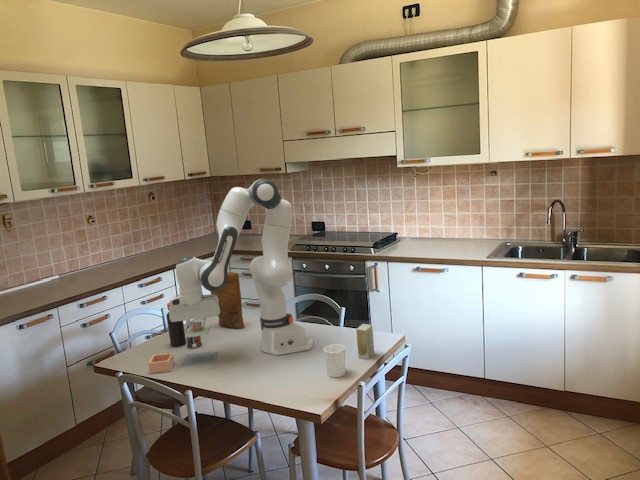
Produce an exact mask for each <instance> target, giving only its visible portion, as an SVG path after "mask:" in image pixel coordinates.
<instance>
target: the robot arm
mask: <svg viewBox="0 0 640 480" xmlns="http://www.w3.org/2000/svg"><path fill="white" fill-rule="evenodd" d="M254 206H260V207H263V208H264V209H265V221H264V224H263V225H264V226H263V229H262V236H261V245H262V246H261V247H262V254H263V255H259V256H256V257H254V258H253V259H252V260H251V262H249V263H250V264H249V271H250V274H251V277H252V279H253V283H254V286H255V291H256V294H257V296H258V298H257V299H258V301H259V311H260V317H259V321H260V328H261V345H260V350H261V351H262V352H264V353H267V354H271V355H272V356H282V355H286V354H292V353H298V352H304V351H305V352H306V351H308V350H311V349H312V348H313V347H314V340H313V338H312V337H311V336H309V335H308V334H307V331H306V329H305V328H304V327H303V326H302V325H300V324H298V323H297V322H295V321H294V318H293V315H292V313H291V312H290V313H288V312H287V311H288V310H287V302H286V295H285V293H284V291H283V288H284V287H285V286H286V285H287V284H288V283H290V280H291V270H290V266H289V257H288V251H289V240H290V234H291V229H292V221H293V205H292V204H291V202H289V200H286V199H283V198H282V197H281V195H280V192H279V189H278V186H277V185H276V183H275V182H274V181H273V180H271V179H268V178H259V179H257V180H255V181H254V182H253V183H252V184H251V185H250V186H248V187H247V188H244V187H240V186H235V187H232V188H231V189H230V190H229V191H228V193H227V194H226V196H225V198H224V200H223V202H222V204H221V206H220V209H219V212H218V214H217V218H216V223H215V224H216V229H217V233H218V244H217V247H216V249H215V251H214V255H213V258H212V260H205V259H200V258H197V257H195V256H192V255H190V256H185V257H183V258H180V260H178V261H177V262H176V265H175V274H176V280H177V283H178V285H179V291H178V292H179V293H177V294H175V295H173V296H172V297H171V298H170V299H169V301H168V303H169V304H170V305H171V306H170V308H169V310H168V312H169V318H170V321H172V322H177V321H183V322H185V323H186V324H187V325H188V326H189V327H190V330H193V326H192V325H193V324H191V323H190V322H191V320H198V319H201V324H200V326H201V328H205V325H206V324H205V323H206V320H207V318H213V317H214V318H215V317H218V315H219V314H220V308H219V304H218V302H219V300H218V296H217V295H214V294H211V293H210V294H203V288H204V289H205V290H206V291H208V292H210V291H219V290H221V289H222V288H223V287H224V286H225V285H226V283H227V279H228V275H227V272H228V268H229V264H230V261H231V258H232V255H233V251H234V248H235V246H236V243H237V240H238V238H239V236H240V233H241V231H242V229H243V226H244V224H245V222H246V218H247V217H248V215H249V213H250V212H249V211H250V210H251V208H252V207H254ZM202 286H203V288H202ZM187 325H186V326H187Z"/></svg>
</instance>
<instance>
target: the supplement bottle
mask: <svg viewBox="0 0 640 480" xmlns="http://www.w3.org/2000/svg"><path fill="white" fill-rule="evenodd" d="M189 322H190V323H191V324H193V323H194V322H195V321H189ZM186 326H187V327H186V329H185V333H186V332H187V330H188V328H189V326H188V325H186ZM201 339H202V337H201V336H194V337H187V338H186V345H187V348H188V349H198V348H200V347H202V340H201Z"/></svg>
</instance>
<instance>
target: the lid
mask: <svg viewBox="0 0 640 480" xmlns="http://www.w3.org/2000/svg"><path fill="white" fill-rule="evenodd" d="M193 322H194V323H193V325H192V326H193V330H190V327H189V328H188V330H187V332H186V331H185V338H186V339H187V337H194V336H200V337H201V336H208V334H209V332H210V330H211V327H212V326H211V324H205V328H201V326H200V324H201V323H202V321H193Z"/></svg>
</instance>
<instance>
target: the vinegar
mask: <svg viewBox="0 0 640 480" xmlns="http://www.w3.org/2000/svg"><path fill="white" fill-rule="evenodd" d="M166 306H167V310H168V312H167V313H166V315H165V316H166V321H167V323H166V324H167V328H168V336H169V344H170V347H171V348H181V347H184V346H185V345H187V338H185V334H186V330H185V326H184V321H177V322H172V321H170V318H169V308H170V306H171V305H170V304H169V302H168V303H166Z"/></svg>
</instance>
